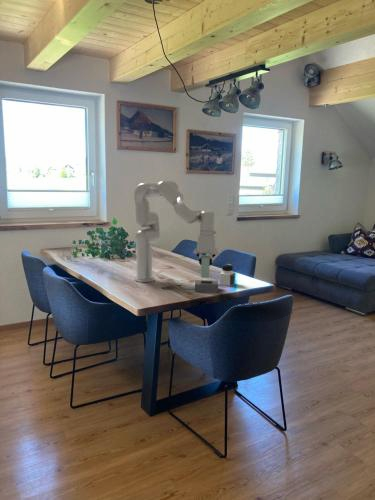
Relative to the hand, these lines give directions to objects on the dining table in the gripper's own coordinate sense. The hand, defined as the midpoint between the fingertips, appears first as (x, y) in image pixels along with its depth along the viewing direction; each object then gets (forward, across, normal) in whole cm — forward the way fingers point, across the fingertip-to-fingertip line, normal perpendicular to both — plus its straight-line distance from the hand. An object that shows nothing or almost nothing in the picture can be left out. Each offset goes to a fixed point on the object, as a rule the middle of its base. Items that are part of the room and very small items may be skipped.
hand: (205, 264), depth 224 cm
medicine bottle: (+15, -14, -14) cm, 24 cm away
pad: (+15, +9, -4) cm, 17 cm away
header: (+15, -1, 0) cm, 15 cm away
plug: (+7, 0, 0) cm, 7 cm away
